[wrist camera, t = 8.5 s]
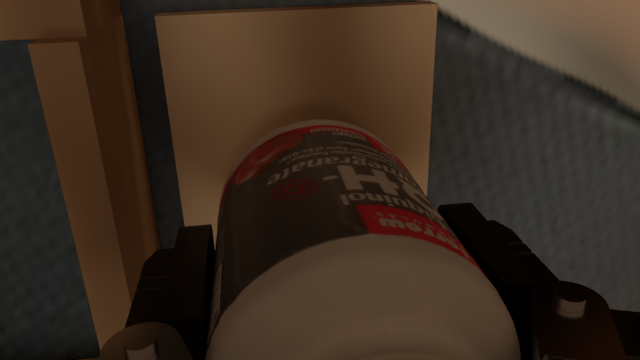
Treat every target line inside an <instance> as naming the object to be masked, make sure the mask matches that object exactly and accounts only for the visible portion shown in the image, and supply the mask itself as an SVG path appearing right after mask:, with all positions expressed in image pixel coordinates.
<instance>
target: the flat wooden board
mask: <svg viewBox="0 0 640 360" xmlns="http://www.w3.org/2000/svg"><path fill="white" fill-rule="evenodd" d="M437 6H438V4H437V3H434V2H431V1H415V2H393V3H370V4H347V5H324V6H301V7H279V8H256V9H233V10H210V11H187V12H165V13H158V14H156V15H155V23H156V30H157V37H158V44H159V51H160V58H161V65H162V72H163V79H164V86H165V93H166V100H167V107H168V114H169V121H170V128H171V135H172V142H173V149H174V156H175V163H176V169H177V176H178V183H179V190H180V197H181V204H182V211H183V218H184V225H185V226H196V225H207V224H211V226H212V230H213V237H214V246H215V247H216V237H217V220H218V214H219V204H220V198H221V194H222V190H223V187H224V184H225V181H226V179H227V176H228V174H229V172H230V171H231V169H232V167H233V165H234V164H235V162H236V161H237V160H238V159H239V157H240V156H241V155H242V154H243V153H244V152H245V151H246V150H247V149H248V148H249V147H250V146H251V145H253V144H254V143H255V142H256V141H258V140H259V139H261V138H262V137H264V136H265V135H267V134H268V133H270V132H272V131H274V130H276V129H277V128H280V127H283V126H286V125H289V124H292V123H297V122H301V121H306V120H319V119H322V120H335V121H342V122H346V123H349V124H352V125H355V126H358V127H360V128H363V129H365V130H367V131H368V132H370V133H372V134H373V135H375V136H376V137H378V138H379V139H380V140H381V141H383V142H384V143H385V144H386V145H387V146H388V147H389V148H390V149H391V150H392V151H393V152H394V153H395V154H396V155H397V157H398V158H399V159H400V161H401V162H402V163H403V165H404V166H405V167H406V168H407V169H408V171H409V172H410V174H411V175H412V177H413V179H414V180H415V181H416V182H417V183H418V185H419V186H420V188H421V189H422V191H423V192H424V194H425V195H426V196H427V186H428V168H429V150H430V132H431V114H432V96H433V78H434V60H435V42H436V24H437Z"/></svg>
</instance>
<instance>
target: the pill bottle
mask: <svg viewBox="0 0 640 360" xmlns="http://www.w3.org/2000/svg"><path fill="white" fill-rule="evenodd" d="M205 360H521V354H520V346H519V340H518V336H517V332H516V329H515V326H514V323H513V320H512V318H511V316H510V314H509V312H508V310H507V308H506V306H505V304H504V303H503V301H502V299H501V298H500V296H499V294H498V292H497V290H496V289H495V287H494V286H493V285H492V283H491V282H490V281H489V279H488V278H487V277H486V275H485V274H484V273H483V271H482V270H481V269H480V267H479V266H478V265H477V263H476V262H475V260H474V259H473V258H472V256H471V255H470V254H469V253H468V252H467V250H466V249H465V248H464V246H463V245H462V243H461V242H460V241H459V239H458V238H457V236H456V235H455V233H454V232H453V231H452V230H451V229H450V227H449V226H448V224H447V223H446V221H445V220H444V219H443V217H442V216H441V215H440V214H439V212H438V211H437V210H436V208H435V207H434V206H433V204H432V203H431V202H430V200H429V199H428V198H427V196H426V195H425V194H424V192H423V191H422V189H421V188H420V186H419V185H418V183H417V182H416V181H415V180H414V179H413V177H412V175H411V174H410V172H409V171H408V169H407V168H406V167H405V166H404V165H403V163H402V162H401V161H400V159H399V158H398V157H397V155H396V154H395V153H394V152H393V151H392V150H391V149H390V148H389V147H388V146H387V145H386V144H385V143H384V142H383V141H381V140H380V139H379V138H378V137H376V136H375V135H373V134H372V133H370V132H368V131H367V130H365V129H363V128H360V127H358V126H355V125H352V124H349V123H346V122H342V121H335V120H322V119H319V120H306V121H301V122H297V123H292V124H289V125H286V126H283V127H280V128H277V129H276V130H274V131H272V132H270V133H268V134H267V135H265V136H264V137H262V138H261V139H259V140H258V141H256V142H255V143H254V144H253V145H251V146H250V147H249V148H248V149H247V150H246V151H245V152H244V153H243V154H242V155H241V156H240V157H239V159H238V160H237V161H236V162H235V164H234V165H233V167H232V169H231V171H230V172H229V174H228V176H227V179H226V181H225V184H224V187H223V190H222V194H221V198H220V204H219V214H218V220H217V237H216V247H215V260H214V272H213V282H212V292H211V304H210V316H209V325H208V337H207V350H206V356H205Z"/></svg>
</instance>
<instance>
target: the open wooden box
mask: <svg viewBox="0 0 640 360" xmlns="http://www.w3.org/2000/svg"><path fill="white" fill-rule="evenodd" d="M22 39H37V40H35V41H33V42H31V43H29V44H27V45H28V49H29V53H30V57H31V61H32V66H33V70H34V74H35V78H36V82H37V87H38V91H39V95H40V99H41V103H42V108H43V112H44V116H45V120H46V124H47V129H48V133H49V137H50V141H51V145H52V150H53V154H54V158H55V162H56V166H57V171H58V175H59V179H60V183H61V187H62V192H63V196H64V200H65V204H66V208H67V213H68V217H69V221H70V225H71V229H72V234H73V238H74V242H75V246H76V250H77V255H78V259H79V263H80V267H81V271H82V276H83V280H84V284H85V288H86V292H87V297H88V301H89V305H90V309H91V313H92V317H93V322H94V326H95V330H96V334H97V338H98V343H99V347H100V351H101V349H102V347H103V345H104V344H105V343H106V342H107V340H108V339H109V338H111V337H112V336H113V335H114V334H116V333H118V332H119V331H121V330H123V329H124V328H125V325H126V321H127V318H128V315H129V311H130V308H131V305H132V301H133V298H134V295H135V291H137V289H136V288H137V285H138V281H139V280H140V275H141V271H142V268H143V265H144V262H145V261H146V260H147V259H148V258H149V257H150V256H151V255H152V254H153V253H154V252H155V251H156V250H160V249H161V243H160V237H159V231H158V225H157V219H156V213H155V207H154V201H153V195H152V189H151V183H150V177H149V171H148V165H147V159H146V153H145V147H144V141H143V135H142V129H141V123H140V117H139V111H138V105H137V99H136V93H135V87H134V81H133V75H132V69H131V63H130V57H129V51H128V45H127V39H126V33H125V27H124V21H123V15H122V9H121V3H120V0H0V41H1V40H22ZM79 360H100V359H99V357H97V358H88V359H79Z"/></svg>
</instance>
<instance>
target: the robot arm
mask: <svg viewBox="0 0 640 360" xmlns="http://www.w3.org/2000/svg"><path fill="white" fill-rule="evenodd" d="M437 211H438V212H439V214H440V215H441V216H442V217H443V219H444V220H445V221H446V223H447V224H448V226H449V227H450V229H451V230H452V231H453V232H454V233H455V235H456V236H457V238H458V239H459V241H460V242H461V243H462V245H463V246H464V248H465V249H466V250H467V252H468V253H469V254H470V255H471V256H472V258H473V259H474V260H475V262H476V263H477V265H478V266H479V267H480V269H481V270H482V271H483V273H484V274H485V275H486V277H487V278H488V279H489V281H490V282H491V283H492V285H493V286H494V287H495V289H496V290H497V292H498V294H499V296H500V298H501V299H502V301H503V303H504V304H505V306H506V308H507V310H508V312H509V314H510V316H511V318H512V320H513V323H514V326H515V329H516V332H517V336H518V340H519V346H520V354H521V360H640V312H632V311H622V310H614V309H610V308H609V305H608V303H607V301H606V300H605V299H604V298H603V297H602V296H601V295H600V294H599V293H597V292H596V291H594V290H592V289H590V288H588V287H586V286H584V285H581V284H578V283H574V282H569V281H561V280H558V279H557V277H556V276H555V275H554V274H553V273H552V272H551V271H550V270H549V269H548V268H547V267H546V266H545V265H544V264H543V263H542V262H541V260H540V259H539V258H538V257H537V256H536V255H535V254H534V253H532V252H531V250H530V249H529V248H528V247H527V246H526V244H523V243H522V240H521V239H520V238H519V237H518V236H517V235H516V234H515V233H514V232H513V231H512V230H511V229H509V228H508V227H506V226H504V225H502V224H500V223H498V222H496V221H494V220H490V221H487V220H486V219H485V218H484V217H483V215H482V214H481V213H480V212H479V211H478V210H477V209H476V207H475V206H474V205H473V204H472V203H459V204H447V205H440V206H439V207H438V210H437ZM214 260H215V246H214V237H213V230H212V226H211V224H207V225H196V226H184V227H179V229H178V234H177V238H176V243H175V248H172V249H160V250H156V251H155V252H154V253H153V254H152V255H151V256H150V257H149V258H148V259H147V260H146V261H145V262H144V265H143V268H142V271H141V275H140V280H139V281H138V285H137V288H136V289H137V291H135V295H134V298H133V301H132V305H131V308H130V311H129V315H128V318H127V321H126V325H125V328H124V329H123V330H121V331H119V332H118V333H116V334H114V335H113V336H112V337H111V338H109V339H108V340H107V342H106V343H105V344H104V345H103V347H102V349H101V351H100V356H99V359H100V360H205V356H206V350H207V337H208V325H209V316H210V304H211V292H212V282H213V272H214Z"/></svg>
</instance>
